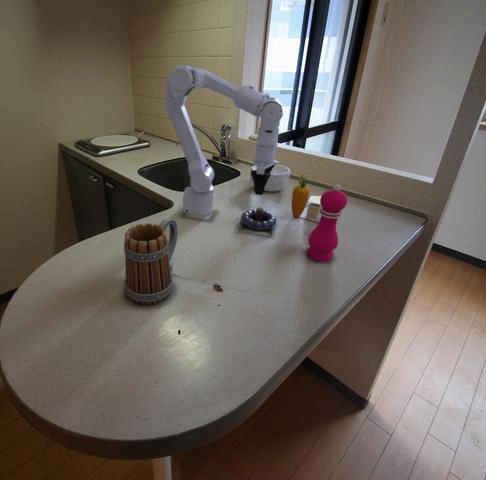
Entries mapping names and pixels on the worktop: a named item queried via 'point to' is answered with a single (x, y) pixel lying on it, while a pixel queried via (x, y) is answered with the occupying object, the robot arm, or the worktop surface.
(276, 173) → the paper bowls
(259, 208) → the post
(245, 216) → the ring
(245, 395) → the worktop surface
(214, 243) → the worktop surface
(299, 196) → the carrot
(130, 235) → the mug
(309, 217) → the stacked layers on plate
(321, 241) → the pepper mill
